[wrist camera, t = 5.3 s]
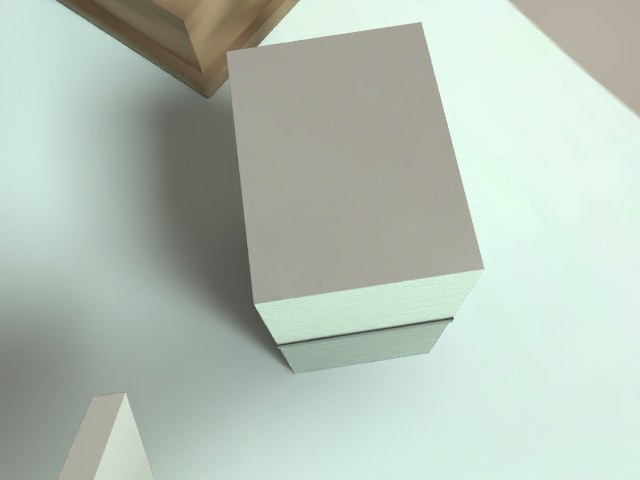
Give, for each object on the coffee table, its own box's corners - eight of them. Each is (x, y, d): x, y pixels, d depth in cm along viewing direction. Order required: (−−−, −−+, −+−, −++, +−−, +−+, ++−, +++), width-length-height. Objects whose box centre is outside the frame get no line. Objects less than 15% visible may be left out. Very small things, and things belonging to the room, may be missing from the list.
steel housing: (293, 375, 27) (252, 306, 16) (272, 208, 30) (224, 50, 18) (430, 354, 27) (486, 270, 16) (395, 190, 30) (422, 20, 19)
